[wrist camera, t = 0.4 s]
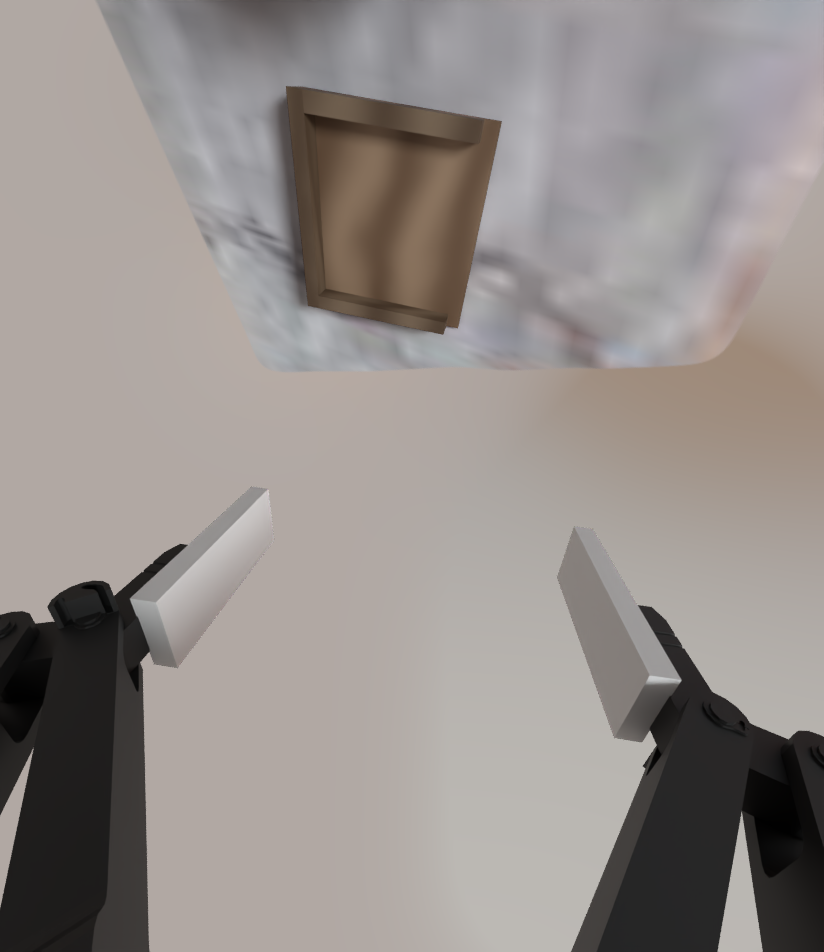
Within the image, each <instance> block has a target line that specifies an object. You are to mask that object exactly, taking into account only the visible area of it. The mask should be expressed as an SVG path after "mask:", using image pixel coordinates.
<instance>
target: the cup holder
mask: <svg viewBox="0 0 824 952" xmlns="http://www.w3.org/2000/svg"><path fill="white" fill-rule="evenodd" d="M286 92H287V102H288V112H289V122H290V131H291V141H292V151H293V161H294V171H295V181H296V191H297V201H298V211H299V221H300V231H301V241H302V251H303V261H304V271H305V281H306V290H307V300H308V306H312V307H316V308H321V309H326V310H330V311H335V312H340V313H345V314H349V315H354V316H359V317H363V318H368V319H373V320H377V321H382V322H387V323H391V324H396V325H401V326H405V327H410V328H415V329H419V330H424V331H429V332H434V333H438V334H444V331H445V328H446V326H449V327H454V328H458V325H459V321H460V316H461V311H462V306H463V302H464V297H465V292H466V288H467V283H468V278H469V273H470V269H471V264H472V259H473V255H474V250H475V245H476V240H477V236H478V231H479V226H480V222H481V217H482V212H483V207H484V203H485V198H486V193H487V189H488V184H489V179H490V174H491V170H492V165H493V160H494V155H495V151H496V146H497V141H498V137H499V132H500V127H501V122H502V121H496V120H491V119H485V118H479V117H473V116H468V115H462V114H456V113H450V112H445V111H439V110H433V109H427V108H421V107H416V106H410V105H404V104H398V103H393V102H387V101H381V100H375V99H370V98H364V97H358V96H352V95H346V94H341V93H335V92H329V91H323V90H318V89H312V88H306V87H291V86H286Z"/></svg>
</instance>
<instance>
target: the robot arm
mask: <svg viewBox="0 0 824 952" xmlns="http://www.w3.org/2000/svg"><path fill="white" fill-rule="evenodd" d="M273 541H274V533H273V525H272V517H271V509H270V499H269V491H268V489H265V488H257V487H251V488H250V489H249V490H247V491H246V492H245V493H244V494H243V495H242V496H241V497H240V498H239V499H238V500H236V501H235V502H234V503H233V504H232V505H231V506H230V507H229V508H228V509H227V510H226V511H225V512H223V513H222V514H221V515H220V516H219V517H218V518H217V519H216V520H215V521H214V522H213V523H211V524H210V525H209V526H208V527H207V528H206V529H205V530H204V531H203V532H202V533H201V534H199V536H197V537H196V538H195V539H194V540H193V541H192V542H191V543H190V544H189V545H184V544H179V545H177V546H175V547H173V548H172V549H170V550H168V551H166V552H164V553H163V554H162V555H161V556H160V557H159V558H157V559H156V560H155V561H154V562H153V564H151V565H149V566H148V567H147V568H146V569H145V570H144V572H141V573H140V574H139V575H138V576H137V577H136V578H134V579H133V580H132V581H131V582H130V583H129V584H128V585H126V586H125V587H124V588H123V589H122V590H121V591H119V592H118V593H117V594H116V595H115V596H114V595H113V593H112V590H111V588H110V585H109V584H108V583H106V582H104V581H90V582H84V583H80V584H78V585H75V586H72V587H70V588H68V589H66V590H64V591H63V592H61V593H59V594H58V595H57V596H56V597H55V598H54V599H52V600H51V602H50V603H49V605H48V609H49V611H50V613H51V615H52V617H53V619H54V621H55V622H46V623H38V624H35V622H34V621H33V619H32V617H31V615H30V614H29V613H26V612H23V611H20V612H10V613H6V614H2V615H0V815H1V813H2V811H3V808H4V806H5V804H6V802H7V800H8V798H9V796H10V794H11V792H12V790H13V788H14V786H15V784H16V782H17V780H18V778H19V776H20V774H21V772H22V770H23V768H24V766H25V764H26V762H27V760H28V757H29V755H30V753H31V751H32V749H33V747H34V750H33V754H32V760H31V764H30V769H29V774H28V779H27V783H26V788H25V793H24V798H23V802H22V807H21V812H20V817H19V821H18V826H17V831H16V836H15V841H14V845H13V850H12V855H11V860H10V864H9V869H8V874H7V879H6V884H5V888H4V894H3V898H2V903H1V907H0V952H149V936H148V894H147V892H148V890H147V846H146V801H145V757H144V756H145V755H144V710H143V669H142V667H141V664H140V662H141V661H142V659H143V658H144V657H145V656H146V655H147V653H149V652H150V654H151V657H152V660H153V662H154V664H156V665H162V666H168V667H175V668H178V667H179V665H180V664H181V663H182V661H183V660H184V659H185V657H186V656H187V655H188V653H189V652H190V651H191V649H192V648H193V647H194V646H195V644H196V642H198V640H199V639H200V638H201V636H202V635H203V634H204V632H205V631H206V629H207V628H208V627H209V626H210V624H211V623H212V622H213V620H214V619H215V618H216V616H217V615H218V614H219V612H220V611H221V610H222V608H223V607H224V606H225V604H226V603H227V602H228V600H229V599H230V598H231V596H232V595H233V594H234V593H235V591H236V590H237V589H238V587H239V586H240V585H241V583H242V582H243V581H244V579H245V578H246V577H247V575H248V574H249V573H250V571H251V570H252V568H253V567H254V566H255V565H256V563H257V562H258V561H259V559H260V558H261V557H262V555H263V554H264V553H265V551H266V550H267V549H268V548H269V546H270V545H271V544H272V542H273ZM557 578H558V581H559V584H560V587H561V590H562V593H563V595H564V598H565V601H566V604H567V606H568V609H569V612H570V615H571V618H572V621H573V624H574V626H575V629H576V632H577V635H578V638H579V640H580V643H581V646H582V648H583V651H584V654H585V657H586V660H587V663H588V666H589V668H590V671H591V674H592V677H593V679H594V682H595V685H596V688H597V691H598V694H599V696H600V699H601V702H602V705H603V708H604V711H605V713H606V716H607V719H608V722H609V725H610V727H611V730H612V733H613V736H614V738H618V739H624V740H631V741H637V742H642V741H643V740H644V738H645V737H646V735H647V734H648V732H649V731H651V733H652V735H653V738H654V739H655V742H656V744H657V746H656V747H655V749H654V750H653V752H652V753H651V755H650V756H649V758H648V759H647V761H646V762H645V764H644V765H643V767H644V768H646V769H645V772H644V774H643V776H642V779H641V781H640V784H639V786H638V789H637V791H636V794H635V796H634V799H633V801H632V804H631V806H630V808H629V811H628V813H627V816H626V819H625V821H624V823H623V826H622V829H621V831H620V833H619V835H618V838H617V840H616V843H615V845H614V848H613V850H612V853H611V855H610V858H609V860H608V863H607V865H606V868H605V870H604V872H603V875H602V878H601V880H600V882H599V885H598V887H597V890H596V892H595V894H594V897H593V899H592V902H591V904H590V907H589V909H588V912H587V914H586V917H585V919H584V922H583V924H582V926H581V929H580V932H579V934H578V936H577V939H576V941H575V944H574V946H573V949H572V951H571V952H717V950H718V944H719V939H720V932H721V926H722V921H723V916H724V910H725V904H726V898H727V893H728V887H729V881H730V875H731V869H732V864H733V858H734V852H735V846H736V840H737V835H738V829H739V823H740V817H741V811H742V814H743V821H744V828H745V835H746V841H747V848H748V855H749V861H750V868H751V875H752V882H753V888H754V895H755V902H756V908H757V915H758V922H759V928H760V935H761V942H762V948H763V952H824V737H823V736H821V735H818V734H816V733H813V732H810V731H798V732H796V733H795V734H794V735H793V736H792V737H791V738H790V739H789V740H788V739H786V738H783V737H781V736H779V735H776V734H774V733H771V732H769V731H767V730H764V729H762V728H759V727H756V726H754V725H752V724H750V723H749V721H748V719H747V718H746V717H745V715H744V714H742V712H741V711H740V710H739V709H738V708H737V707H736V706H734V705H733V704H732V703H730V702H729V701H728V700H726V699H725V698H723V697H721V696H719V695H717V694H715V693H713V692H712V691H711V690H710V688H709V686H708V685H707V683H706V682H705V680H704V679H703V677H702V675H701V674H700V672H699V671H698V669H697V668H696V666H695V665H694V663H693V662H692V660H691V658H690V657H689V655H688V654H687V652H686V651H685V649H683V648H682V645H681V643H680V642H679V640H678V638H677V637H675V634H674V632H673V631H672V629H671V627H670V626H669V624H668V623H667V621H666V620H665V619H664V618H663V617H662V616H661V615H660V614H659V613H657V612H656V611H655V610H654V609H653V608H652V607H647V606H639V605H637V603H636V602H635V600H634V598H633V596H632V595H631V593H630V591H629V590H628V588H627V586H626V585H625V583H624V581H623V579H622V578H621V576H620V574H619V573H618V571H617V569H616V567H615V566H614V564H613V562H612V560H611V559H610V557H609V555H608V554H607V552H606V550H605V549H604V547H603V545H602V543H601V542H600V540H599V538H598V537H597V535H596V533H595V531H594V530H593V529H591V528H582V527H574V528H573V531H572V534H571V537H570V540H569V543H568V546H567V550H566V552H565V555H564V558H563V561H562V564H561V567H560V570H559V573H558V576H557Z"/></svg>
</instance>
